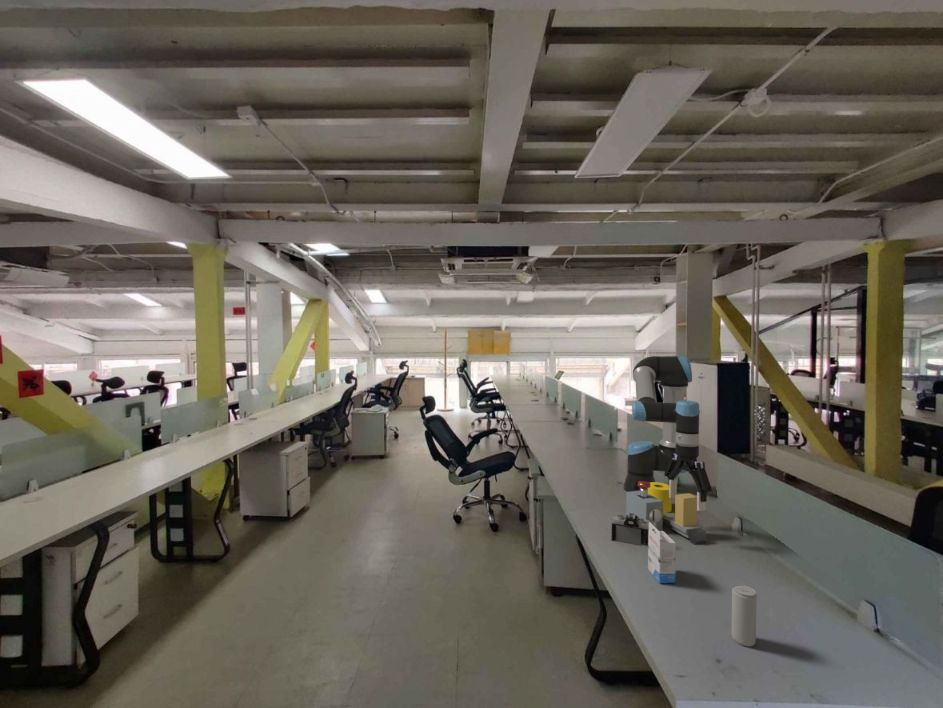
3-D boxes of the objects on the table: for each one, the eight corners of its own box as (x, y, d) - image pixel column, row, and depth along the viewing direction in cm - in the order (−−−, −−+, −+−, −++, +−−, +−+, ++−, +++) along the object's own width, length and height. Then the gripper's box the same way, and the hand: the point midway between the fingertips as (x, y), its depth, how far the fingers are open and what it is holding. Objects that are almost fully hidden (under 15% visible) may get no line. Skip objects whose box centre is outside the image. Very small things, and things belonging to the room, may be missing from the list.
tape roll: (640, 505, 185) (640, 483, 184) (659, 502, 188) (659, 481, 188) (657, 514, 175) (657, 491, 175) (677, 511, 178) (677, 488, 178)
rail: (660, 516, 172) (660, 506, 172) (705, 542, 150) (705, 531, 150) (649, 518, 171) (649, 508, 171) (693, 544, 149) (694, 532, 149)
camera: (658, 540, 152) (659, 511, 152) (657, 550, 144) (657, 521, 144) (612, 531, 159) (613, 504, 159) (609, 541, 151) (609, 513, 151)
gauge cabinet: (641, 518, 171) (641, 490, 171) (664, 531, 159) (664, 502, 158) (625, 519, 169) (626, 492, 169) (647, 534, 157) (647, 503, 157)
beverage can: (726, 634, 103) (727, 584, 103) (745, 633, 103) (746, 583, 103) (740, 648, 98) (741, 596, 98) (760, 647, 98) (761, 595, 98)
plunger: (645, 500, 167) (645, 480, 167) (652, 504, 163) (652, 484, 163) (635, 501, 166) (635, 481, 166) (642, 505, 162) (642, 485, 161)
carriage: (685, 527, 160) (686, 491, 160) (702, 536, 153) (703, 498, 152) (669, 529, 159) (670, 493, 158) (686, 538, 151) (686, 500, 151)
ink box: (676, 583, 125) (677, 532, 124) (659, 583, 125) (659, 532, 124) (663, 568, 133) (663, 520, 133) (647, 568, 133) (647, 520, 133)
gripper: (654, 437, 166) (654, 493, 166) (705, 453, 142) (705, 517, 142) (671, 436, 168) (670, 491, 168) (724, 451, 144) (723, 515, 144)
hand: (686, 503), depth 155 cm, fingers open, 13 cm apart
